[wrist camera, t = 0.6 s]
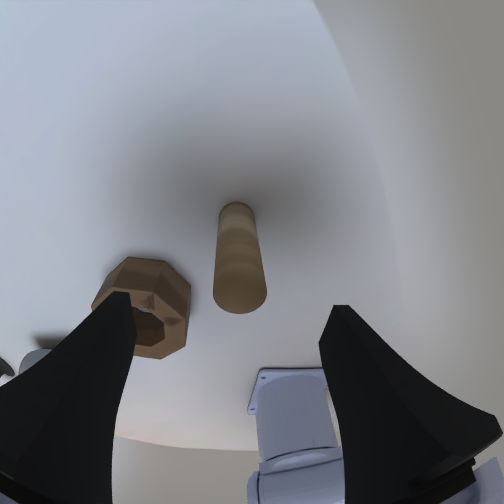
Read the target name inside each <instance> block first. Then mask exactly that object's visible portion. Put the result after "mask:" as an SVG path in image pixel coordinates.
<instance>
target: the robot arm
mask: <svg viewBox="0 0 504 504" xmlns="http://www.w3.org/2000/svg"><path fill="white" fill-rule="evenodd" d="M136 337H137V330H136V325H135V320H134V315H133V310H132V304H131V299H130V293H129V292H120V291H113V292H112V293H111V294H110V295H109V296H108V297H107V298H106V299H105V300H103V301H102V302H101V303H100V304H99V305H98V306H97V307H96V309H95V310H94V311H93V312H92V313H91V314H90V315H89V316H88V317H87V318H86V319H84V320H83V321H82V322H81V323H80V324H79V325H78V326H77V327H76V328H75V329H74V330H73V331H72V332H71V333H70V334H69V335H68V336H67V337H66V338H65V339H64V340H63V341H61V342H60V343H59V344H58V345H57V346H56V347H55V348H54V349H53V350H51V351H50V352H49V353H48V354H47V355H45V356H44V357H43V358H42V359H40V360H39V361H38V362H37V363H35V364H34V365H33V366H31V367H30V368H28V369H27V370H25V371H24V372H22V373H21V374H19V375H18V376H17V377H15V378H14V379H12V380H11V381H9V382H7V383H6V384H4V385H2V386H1V387H0V504H113V503H112V481H111V480H112V451H113V439H114V431H115V423H116V416H117V412H118V407H119V404H120V400H121V396H122V393H123V389H124V386H125V382H126V379H127V376H128V372H129V369H130V365H131V362H132V359H133V354H134V349H135V343H136ZM319 349H320V356H321V362H322V367H323V369H263V370H261V371H260V372H259V374H258V377H257V381H256V384H255V387H254V391H253V394H252V397H251V400H250V403H249V406H248V410H247V413H248V414H251V415H256V424H257V436H258V447H259V454H260V457H261V459H262V461H263V462H261V463H259V471H255V472H253V474H252V476H251V477H250V478H249V480H248V483H247V501H248V504H504V477H503V474H502V472H501V469H500V466H499V463H498V461H497V458H496V457H493V458H492V459H491V460H489V461H488V462H486V463H484V464H483V465H481V466H480V467H479V468H477V469H476V470H474V471H473V470H472V466H473V465H475V463H476V462H475V459H474V457H475V456H476V455H477V454H479V453H480V452H482V451H483V450H484V449H486V448H487V447H488V446H490V445H491V444H493V443H494V442H495V441H496V440H498V439H499V438H500V437H501V436H502V434H503V432H502V430H501V428H500V425H499V423H498V421H497V419H496V417H495V416H494V415H492V414H489V413H487V412H485V411H482V410H480V409H477V408H475V407H473V406H471V405H469V404H467V403H465V402H463V401H461V400H459V399H457V398H456V397H454V396H452V395H451V394H449V393H447V392H446V391H444V390H443V389H441V388H440V387H438V386H437V385H435V384H434V383H432V382H431V381H430V380H428V379H427V378H426V377H424V376H423V375H422V374H421V373H419V372H418V371H416V370H415V369H414V368H413V367H412V366H411V365H409V364H408V363H407V362H406V361H405V360H404V359H403V358H402V357H401V356H400V355H398V354H397V353H396V352H395V351H394V350H393V349H392V348H391V347H390V346H389V345H388V344H387V343H386V342H385V341H384V340H383V339H382V338H381V337H380V336H379V335H378V334H377V333H376V332H375V331H374V330H373V329H372V328H371V327H370V326H369V325H368V324H367V323H366V322H365V321H364V320H363V319H362V318H361V317H360V316H359V315H358V314H357V313H356V312H355V311H354V310H353V309H352V308H351V307H350V306H349V305H333V308H332V311H331V313H330V316H329V318H328V321H327V323H326V326H325V328H324V331H323V333H322V336H321V338H320V340H319ZM327 385H328V388H329V391H330V394H331V398H332V401H333V405H334V408H335V412H336V415H337V419H338V424H339V429H340V436H341V442H342V450H341V447H340V446H339V447H338V443H337V439H336V435H335V431H334V427H333V423H332V419H331V415H330V411H329V407H328V403H327V399H326V396H325V392H324V390H325V388H326V387H327ZM342 451H343V454H342Z"/></svg>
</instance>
